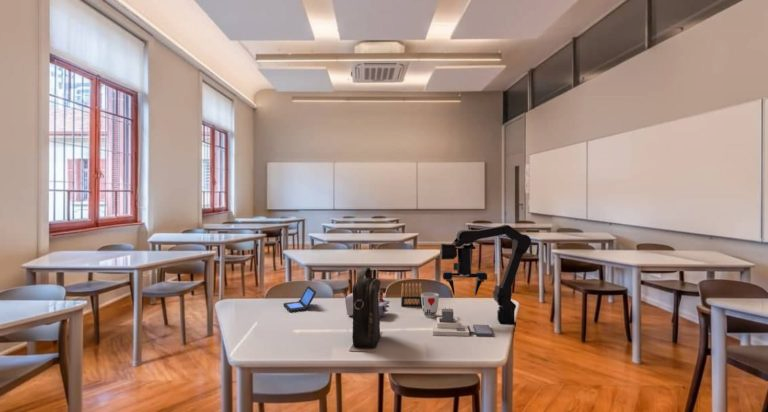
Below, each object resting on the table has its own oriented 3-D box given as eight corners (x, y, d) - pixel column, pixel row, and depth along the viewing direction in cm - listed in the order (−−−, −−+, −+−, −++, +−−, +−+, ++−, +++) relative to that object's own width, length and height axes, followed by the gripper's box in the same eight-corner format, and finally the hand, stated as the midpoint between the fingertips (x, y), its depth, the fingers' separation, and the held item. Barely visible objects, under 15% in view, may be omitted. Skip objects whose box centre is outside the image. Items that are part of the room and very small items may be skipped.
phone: (488, 327, 171) (488, 324, 171) (493, 336, 159) (493, 333, 159) (473, 326, 171) (473, 324, 171) (476, 336, 159) (476, 333, 159)
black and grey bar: (475, 333, 163) (475, 331, 163) (476, 334, 162) (475, 332, 162) (468, 333, 163) (468, 330, 163) (468, 334, 162) (468, 331, 162)
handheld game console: (282, 305, 209) (282, 287, 209) (308, 303, 215) (308, 285, 215) (289, 313, 195) (289, 294, 195) (316, 310, 201) (316, 291, 201)
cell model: (349, 288, 198) (390, 290, 195) (349, 311, 198) (390, 313, 195) (343, 294, 185) (387, 296, 182) (342, 318, 185) (386, 321, 182)
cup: (418, 317, 186) (418, 295, 186) (425, 312, 194) (425, 291, 194) (435, 319, 183) (435, 297, 183) (441, 314, 190) (441, 293, 190)
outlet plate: (465, 325, 174) (465, 317, 174) (469, 336, 160) (469, 327, 160) (432, 324, 175) (432, 316, 175) (433, 335, 161) (433, 326, 161)
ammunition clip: (401, 306, 206) (400, 282, 205) (401, 305, 207) (401, 282, 207) (422, 306, 205) (422, 283, 205) (422, 306, 206) (422, 282, 206)
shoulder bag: (360, 331, 167) (360, 262, 166) (382, 332, 166) (382, 263, 165) (348, 351, 144) (348, 272, 144) (374, 352, 143) (373, 272, 143)
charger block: (452, 323, 171) (452, 306, 171) (453, 326, 167) (453, 308, 167) (441, 322, 172) (441, 305, 171) (442, 326, 167) (442, 308, 167)
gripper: (483, 256, 184) (483, 291, 185) (441, 256, 186) (442, 290, 186) (487, 260, 173) (487, 297, 173) (442, 260, 175) (443, 296, 175)
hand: (464, 295), depth 177 cm, fingers open, 9 cm apart
